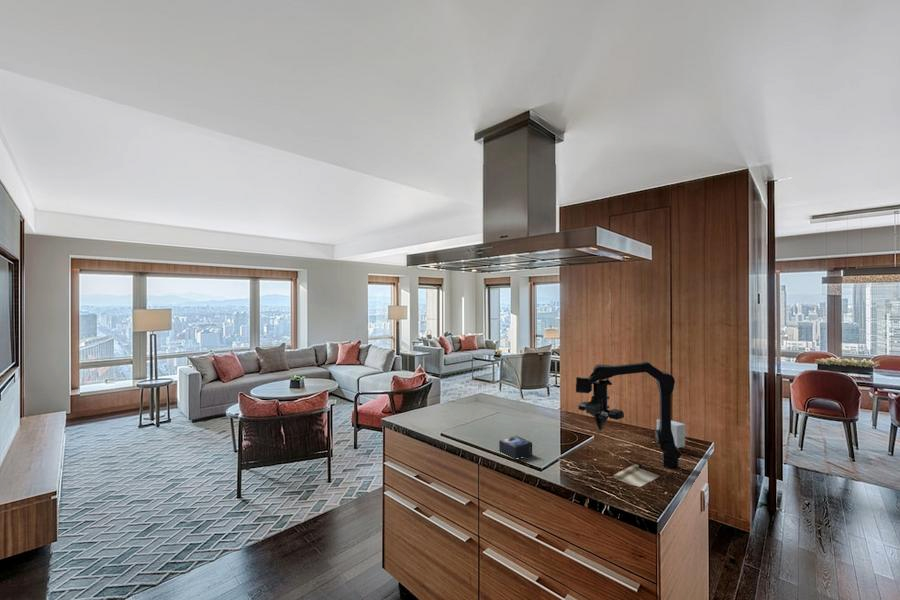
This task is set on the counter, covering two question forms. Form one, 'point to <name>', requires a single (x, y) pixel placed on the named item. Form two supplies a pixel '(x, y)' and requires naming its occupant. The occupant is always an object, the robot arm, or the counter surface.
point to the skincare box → (676, 432)
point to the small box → (515, 447)
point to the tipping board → (635, 476)
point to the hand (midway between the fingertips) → (600, 429)
